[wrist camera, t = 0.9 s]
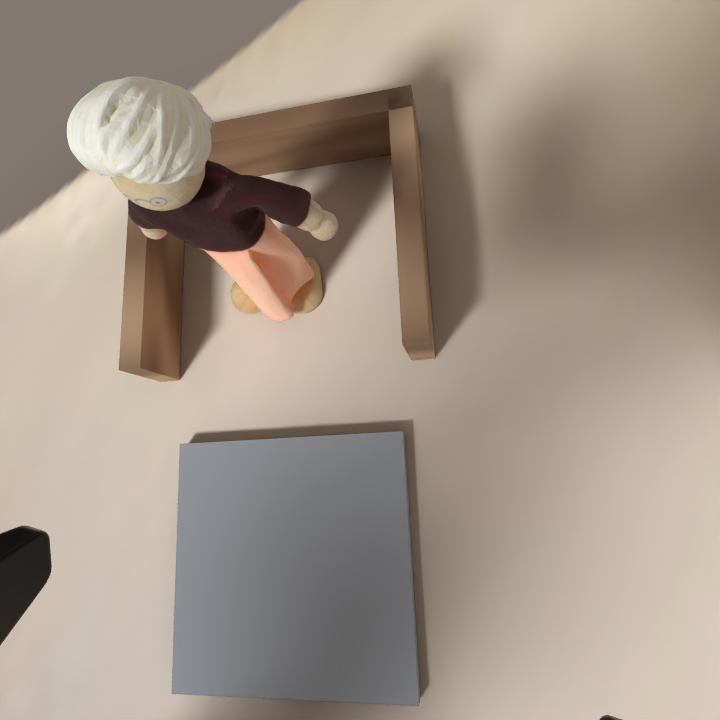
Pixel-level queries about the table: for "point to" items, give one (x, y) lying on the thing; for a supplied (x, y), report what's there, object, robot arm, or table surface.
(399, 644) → the slate mat
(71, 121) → the grandmother figurine
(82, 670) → the table surface
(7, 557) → the robot arm
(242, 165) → the walnut stall
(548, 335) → the table surface
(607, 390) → the table surface
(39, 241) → the table surface
